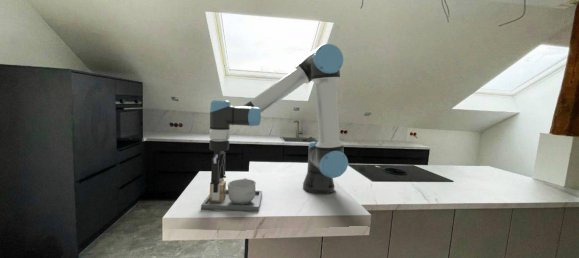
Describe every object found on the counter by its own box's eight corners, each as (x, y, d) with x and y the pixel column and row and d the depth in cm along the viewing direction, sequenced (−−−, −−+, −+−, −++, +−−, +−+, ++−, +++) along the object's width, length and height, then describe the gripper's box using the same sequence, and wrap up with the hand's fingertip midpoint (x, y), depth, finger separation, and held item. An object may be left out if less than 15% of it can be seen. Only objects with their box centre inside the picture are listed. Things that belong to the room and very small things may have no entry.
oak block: (213, 197, 107) (213, 180, 107) (225, 197, 107) (225, 181, 107) (209, 201, 102) (210, 184, 102) (222, 202, 102) (222, 184, 102)
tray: (261, 194, 114) (262, 190, 114) (258, 211, 97) (258, 206, 96) (213, 193, 114) (213, 189, 113) (200, 209, 96) (201, 204, 96)
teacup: (249, 208, 97) (250, 187, 97) (222, 205, 99) (222, 184, 99) (260, 196, 111) (261, 178, 110) (236, 193, 113) (237, 175, 112)
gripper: (215, 136, 112) (214, 188, 114) (202, 142, 93) (201, 205, 95) (233, 137, 112) (231, 189, 114) (223, 143, 93) (222, 206, 95)
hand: (218, 196), depth 105 cm, fingers open, 6 cm apart
